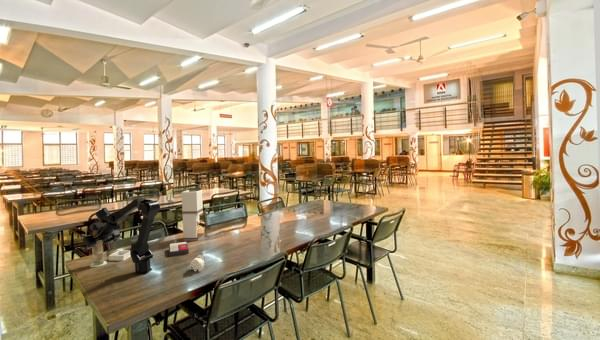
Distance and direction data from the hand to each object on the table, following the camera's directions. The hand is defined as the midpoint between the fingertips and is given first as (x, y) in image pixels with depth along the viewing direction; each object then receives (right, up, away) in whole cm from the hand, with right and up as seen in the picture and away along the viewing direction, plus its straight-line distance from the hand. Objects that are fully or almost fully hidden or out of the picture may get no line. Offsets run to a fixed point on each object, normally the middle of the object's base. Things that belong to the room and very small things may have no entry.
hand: (95, 246), depth 169 cm
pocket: (+8, -10, +11) cm, 17 cm away
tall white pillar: (+39, -7, +49) cm, 63 cm away
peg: (+2, -10, 0) cm, 10 cm away
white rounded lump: (+61, -10, -9) cm, 63 cm away
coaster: (+2, -10, 0) cm, 11 cm away
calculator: (+39, -9, +21) cm, 45 cm away
